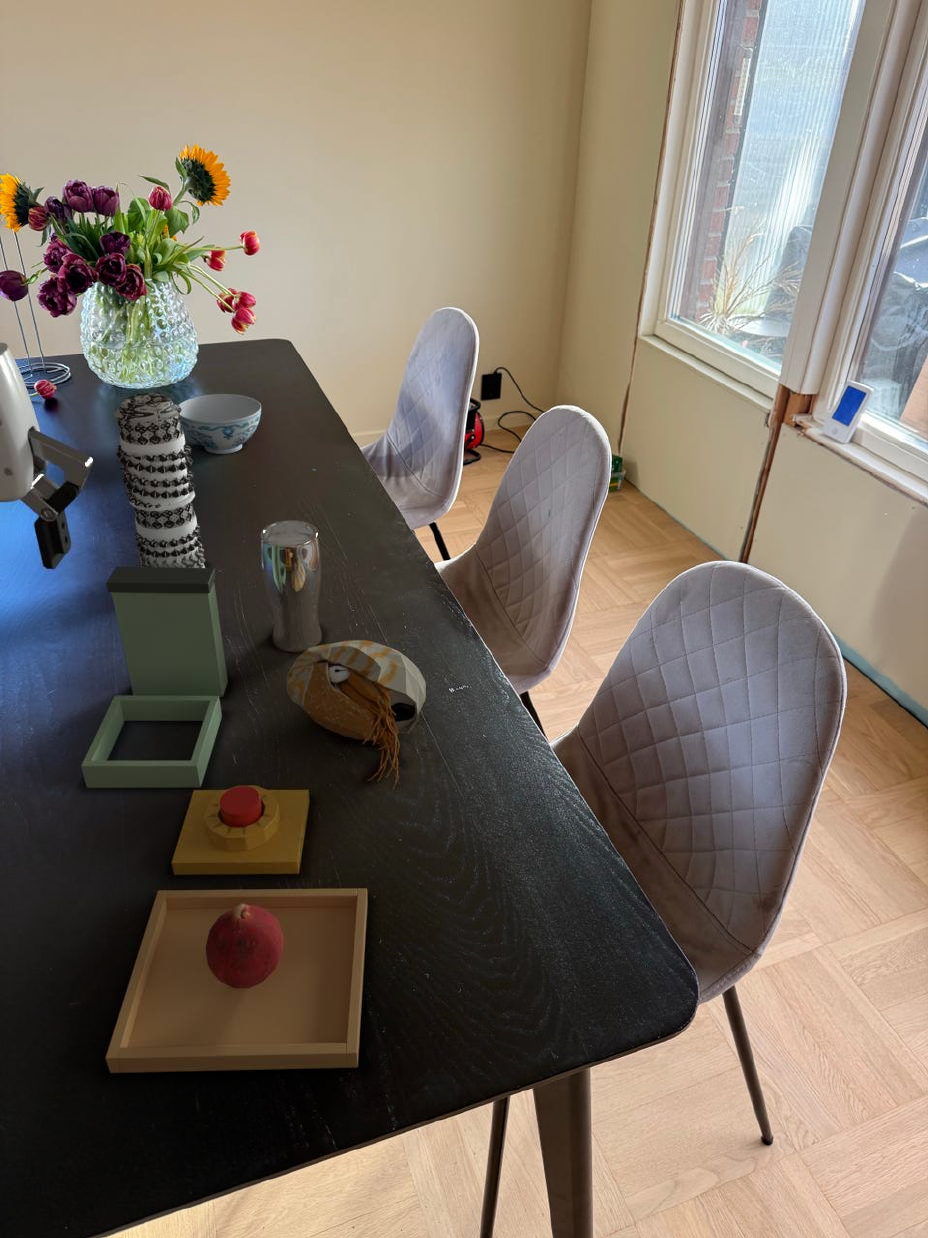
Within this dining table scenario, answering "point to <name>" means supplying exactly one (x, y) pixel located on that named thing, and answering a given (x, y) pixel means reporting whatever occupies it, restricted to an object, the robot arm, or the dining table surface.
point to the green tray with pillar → (163, 672)
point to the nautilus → (359, 692)
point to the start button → (240, 806)
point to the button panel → (243, 836)
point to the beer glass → (292, 582)
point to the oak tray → (245, 1017)
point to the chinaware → (220, 420)
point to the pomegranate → (244, 946)
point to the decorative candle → (159, 481)
